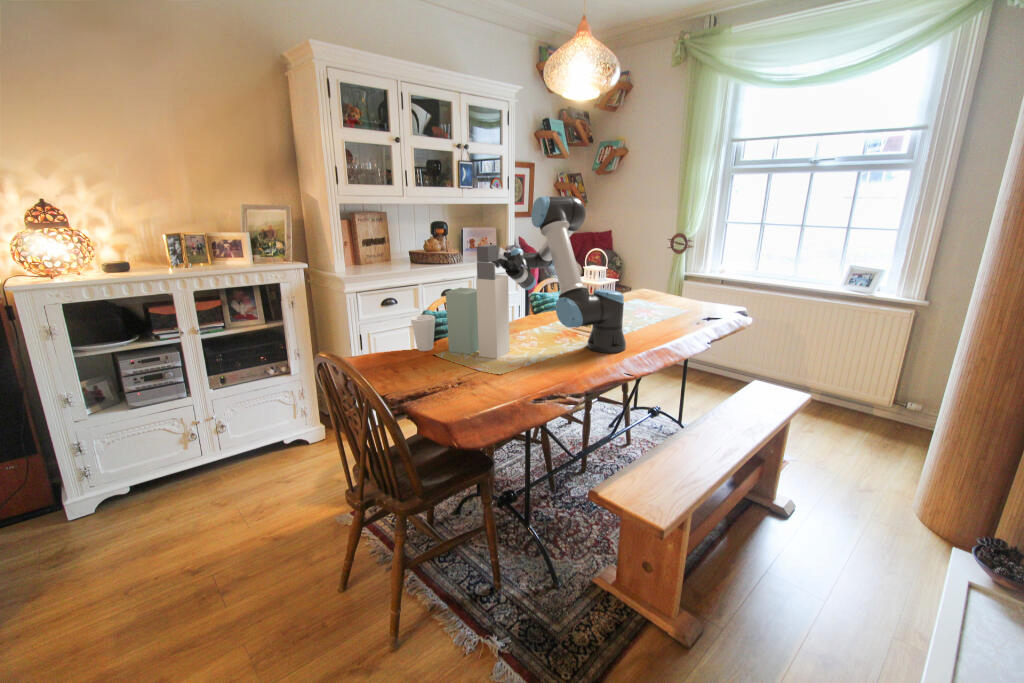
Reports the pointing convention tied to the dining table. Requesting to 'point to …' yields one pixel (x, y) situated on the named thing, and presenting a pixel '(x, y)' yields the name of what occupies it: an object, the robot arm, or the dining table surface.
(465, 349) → the sage green pillar
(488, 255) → the charger
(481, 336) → the tower
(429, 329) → the foam cup
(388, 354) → the dining table surface
